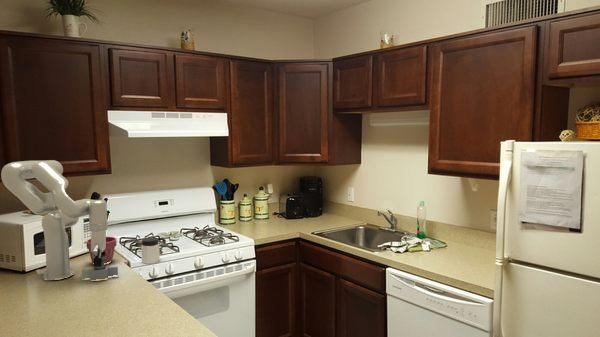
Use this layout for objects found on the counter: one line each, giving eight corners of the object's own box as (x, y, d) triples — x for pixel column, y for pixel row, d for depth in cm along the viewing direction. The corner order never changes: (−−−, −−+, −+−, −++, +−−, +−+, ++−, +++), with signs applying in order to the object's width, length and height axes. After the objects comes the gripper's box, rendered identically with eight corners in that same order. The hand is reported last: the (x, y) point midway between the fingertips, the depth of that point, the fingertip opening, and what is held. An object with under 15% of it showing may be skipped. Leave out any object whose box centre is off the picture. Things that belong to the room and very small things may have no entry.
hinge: (80, 282, 188) (80, 271, 188) (84, 277, 195) (84, 267, 195) (116, 279, 192) (116, 269, 192) (119, 274, 199) (118, 264, 199)
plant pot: (115, 266, 212) (114, 241, 211) (84, 269, 208) (83, 243, 207) (118, 258, 225) (118, 235, 225) (90, 260, 222) (89, 237, 221)
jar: (138, 262, 219) (137, 240, 218) (151, 258, 226) (150, 236, 225) (150, 265, 214) (149, 242, 213) (162, 260, 221) (162, 238, 221)
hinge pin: (93, 280, 191) (93, 258, 190) (95, 277, 195) (95, 256, 195) (105, 279, 192) (104, 258, 191) (106, 276, 197) (106, 255, 196)
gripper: (93, 223, 199) (94, 258, 200) (85, 231, 182) (86, 269, 184) (110, 222, 201) (111, 257, 202) (103, 230, 184) (105, 268, 186)
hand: (99, 263), depth 193 cm, fingers open, 9 cm apart
